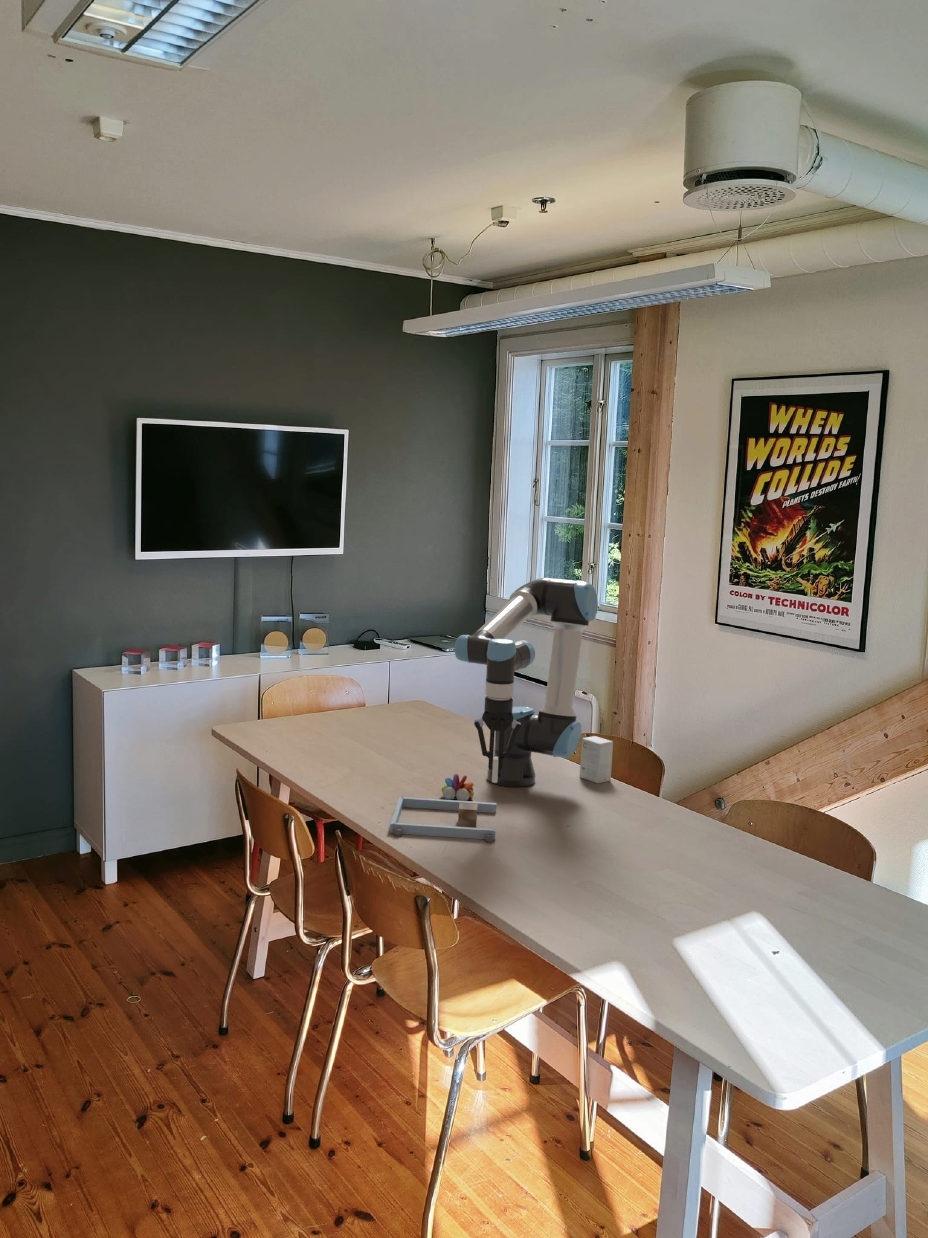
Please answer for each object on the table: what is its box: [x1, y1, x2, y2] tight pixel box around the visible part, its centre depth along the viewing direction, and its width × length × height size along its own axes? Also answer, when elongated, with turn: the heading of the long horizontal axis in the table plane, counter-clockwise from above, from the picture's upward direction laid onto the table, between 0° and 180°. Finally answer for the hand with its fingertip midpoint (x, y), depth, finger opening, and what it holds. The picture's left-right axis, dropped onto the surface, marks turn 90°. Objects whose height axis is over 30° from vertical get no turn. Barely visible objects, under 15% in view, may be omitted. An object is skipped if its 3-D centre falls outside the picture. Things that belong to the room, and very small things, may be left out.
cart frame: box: [389, 796, 497, 844], centre depth 277 cm, size 28×27×2 cm
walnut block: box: [457, 803, 478, 828], centre depth 277 cm, size 5×5×5 cm
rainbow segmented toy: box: [441, 773, 475, 801], centre depth 298 cm, size 8×10×7 cm
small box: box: [579, 735, 614, 784], centre depth 323 cm, size 8×6×13 cm
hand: (494, 781), depth 275 cm, fingers closed
